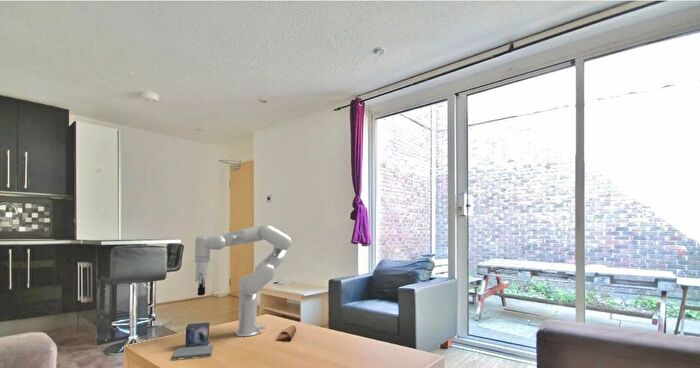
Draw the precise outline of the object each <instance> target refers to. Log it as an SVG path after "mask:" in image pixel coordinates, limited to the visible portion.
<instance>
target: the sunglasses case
mask: <svg viewBox="0 0 700 368" xmlns="http://www.w3.org/2000/svg"><path fill="white" fill-rule="evenodd" d="M296 332H297V327H296V325H289V326H288V327H286V328H284V329H283V330H281V332H280V333H279V334H278V336H277V337H276V339H275V342H276V341H281V342H282V343H284V342H286V343H287V342H288V343H289V342H291V341H292V339H293V337H294V335H295V334H296Z"/></svg>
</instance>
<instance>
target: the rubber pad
mask: <svg viewBox="0 0 700 368" xmlns="http://www.w3.org/2000/svg"><path fill="white" fill-rule="evenodd" d="M212 350H213V351H214V344H209V345H206V346H195V347H178V348H177V350H176V351H175V352H174V354H173V356H172V360H173V359H179V358H191V359H194V358H193V357H201V358H204V357H203V356H211V357H212V355H213V351H212ZM211 354H212V355H211Z"/></svg>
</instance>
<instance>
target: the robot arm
mask: <svg viewBox="0 0 700 368" xmlns="http://www.w3.org/2000/svg"><path fill="white" fill-rule="evenodd" d="M261 241H266V242H267V243H269V244H271V245H272V246H273V248H272V251H271V252H270V254H268V255H267V256H266V257H265V258H264V259H263V260H261V262H259V263H258V264H257V265H256V266H255V269H254V271H253V273H252V274H246V275H243V276H241V277H240V279H239V282H238V295H239V297H238V298H239V299H238V301H239V302H238V330H236V331H235V336H237V335H239V336H238V337H243V336H245V337H252V336H255V335H258V334H259V333H260V330H265V329H266V325H263V324H260V325H259V324H258V323H257V314H258V313H257V311H258V310H257V309H258V307H257V305H258V292H260V291H261V290H262V289H263V288H264V287H265V286H266V285H267V284H268V283H270V282H271V281H272V280H273V278H274V277H275V275H276V270H277V268H278V267H279V266H280V265H281V264H282V263H283V262H284V261H285V260H286V257H287V255H288V254H287V253H288V250H289V249H290V248H291V247H292V245H293V242H292V241H293V240H292V238H291V237H290V236H289V235H288V234H286V233H283V232H282V231H280V229H277V228H276V227H274V226H272V225H270V224H262V225H261V224H260V225H257V226H252V227H248V228H242V229H238V230H234V231H230V232H226V233H221V234H216V235H214V236H207V235H205V236H204V235H203V236H197V237H195V241H194V242H195V244H194V246H195V247H194V263H195V264H196V267H195V280H194V281H195V283H197V282H198V283H197V285H198V286H197V296H199V297H200V296H204V295H206V281H207V279H208V263H210V262H211V250H213V251H214V250H216V251H217V250H218V251H220V250H222V249H224V248H227V247H229V246H237V245H242V246H243V245H249V244H253V243H257V242H261Z"/></svg>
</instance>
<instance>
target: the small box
mask: <svg viewBox="0 0 700 368" xmlns="http://www.w3.org/2000/svg"><path fill="white" fill-rule="evenodd" d="M208 344H209V345H210V322H198V323H189V324H187V325H186V327H185V344H184V345H185V347H195V346H206V345H208Z"/></svg>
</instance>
